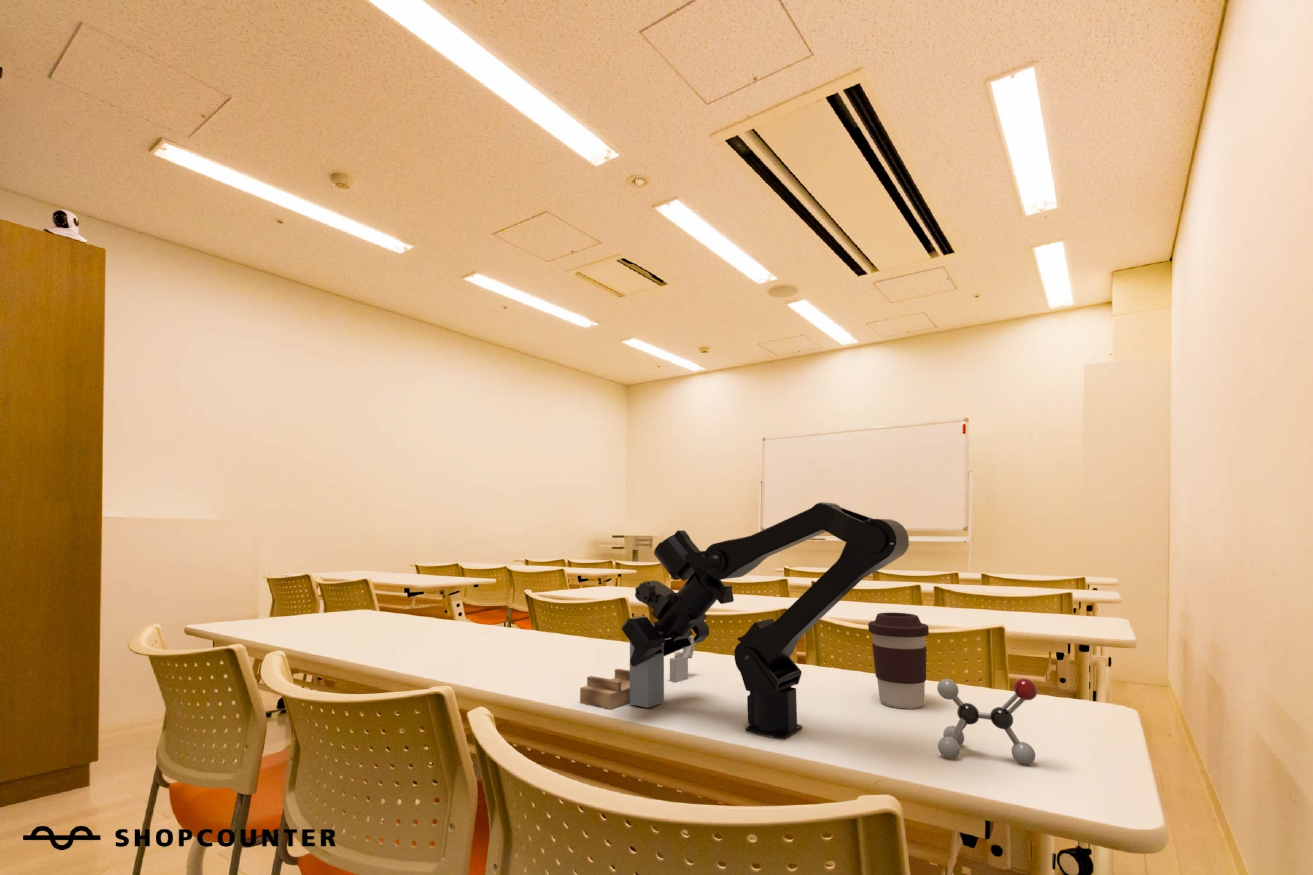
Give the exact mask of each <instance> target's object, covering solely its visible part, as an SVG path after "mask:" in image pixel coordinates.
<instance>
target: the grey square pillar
mask: <svg viewBox="0 0 1313 875" xmlns="http://www.w3.org/2000/svg"><path fill="white" fill-rule="evenodd" d="M660 649H661V650H662V652H663V653H661V654H659V655H657V656H655V657H653V658H651V659H649V660H647V661H645V662H643V663H641V664H639V665H637V666H634V667H633V666H632V665H631V663H630V662H629V670H630V703H629V705H632V706H638V707H642V708H647V709H649V708H652V707H654V706H657V705H660V704H663V703H665V656H664V644H662V647H661V648H660ZM633 651H634V647H633V645H632V644H631V642H630V641H629V661H630V660H631V657H632V654H633Z"/></svg>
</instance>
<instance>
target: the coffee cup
mask: <svg viewBox="0 0 1313 875" xmlns="http://www.w3.org/2000/svg"><path fill="white" fill-rule="evenodd" d="M867 625H868V626H867V627H868V632H869V633H871V634H872V635H871V636H872V655H873V661H874V662H873V664H874V672H875V678H876V679H877V690H878V697H879V700H880V701H879V702H880V703H881V704H883V705H885V706H888V707H891V708H896V709H904V710H905V709H909V710H911V709H919V708H922V707H924V705H925V692H926V690H925V688H926V687H925V686H926V684H925V683H926V681H927V646H926V637H928V636H929V634H930V632H929V629H930V628H929V625H927V623H923V622H921V620H920V618H919V616H918V615H917V614H914V613H908V612H907V613H906V612H879V613H877V614H876V617H875V619H874V620H873V621H872V620H871V621H868V624H867Z"/></svg>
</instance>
